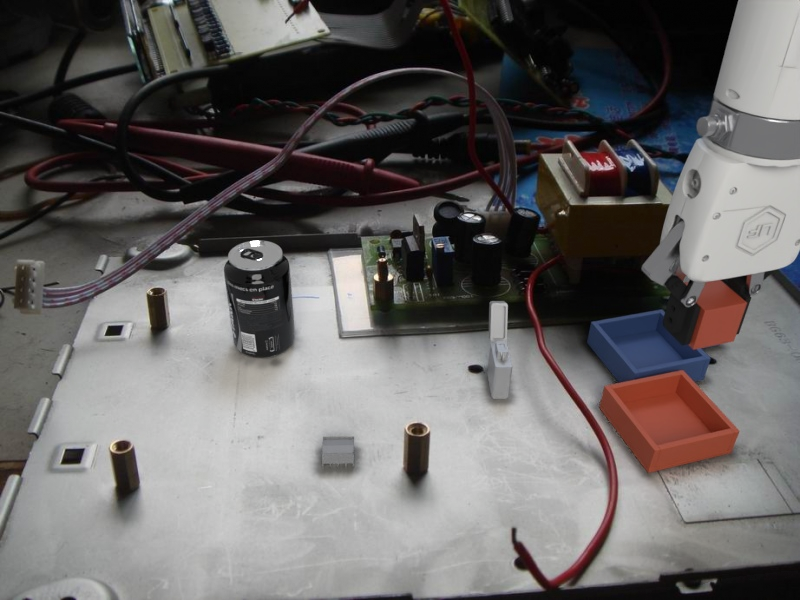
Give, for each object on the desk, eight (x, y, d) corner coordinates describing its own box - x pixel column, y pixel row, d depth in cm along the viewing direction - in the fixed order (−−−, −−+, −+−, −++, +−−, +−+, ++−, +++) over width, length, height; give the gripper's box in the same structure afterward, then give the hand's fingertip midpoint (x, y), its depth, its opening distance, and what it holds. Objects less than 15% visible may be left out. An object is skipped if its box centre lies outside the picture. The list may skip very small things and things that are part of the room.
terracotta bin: (676, 391, 79) (683, 369, 78) (731, 453, 72) (740, 431, 71) (599, 407, 77) (604, 385, 75) (647, 473, 70) (654, 450, 68)
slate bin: (656, 329, 88) (662, 309, 86) (704, 379, 81) (711, 358, 79) (586, 342, 86) (591, 321, 84) (629, 395, 79) (634, 373, 77)
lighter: (508, 398, 78) (516, 338, 73) (491, 398, 78) (499, 338, 73) (499, 355, 84) (506, 296, 79) (483, 355, 84) (489, 296, 79)
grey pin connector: (322, 468, 70) (321, 454, 69) (323, 451, 71) (322, 436, 70) (354, 468, 70) (354, 453, 69) (354, 450, 72) (354, 436, 70)
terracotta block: (704, 314, 66) (716, 276, 64) (734, 341, 63) (747, 302, 60) (665, 321, 65) (675, 283, 62) (693, 350, 62) (705, 310, 59)
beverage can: (257, 320, 88) (247, 231, 81) (307, 336, 86) (301, 246, 79) (222, 353, 83) (207, 261, 76) (273, 371, 81) (264, 278, 74)
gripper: (693, 161, 48) (637, 376, 59) (899, 134, 52) (811, 339, 63) (630, 118, 54) (589, 321, 65) (820, 96, 58) (752, 290, 69)
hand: (700, 328), depth 64 cm, fingers closed on terracotta block, 4 cm apart
